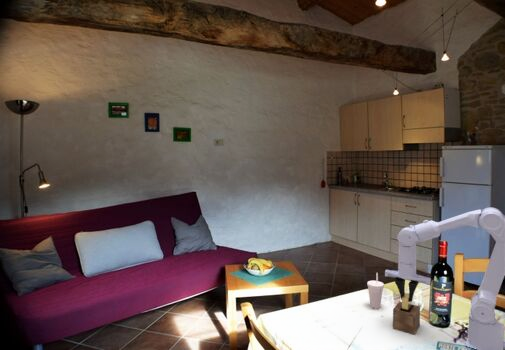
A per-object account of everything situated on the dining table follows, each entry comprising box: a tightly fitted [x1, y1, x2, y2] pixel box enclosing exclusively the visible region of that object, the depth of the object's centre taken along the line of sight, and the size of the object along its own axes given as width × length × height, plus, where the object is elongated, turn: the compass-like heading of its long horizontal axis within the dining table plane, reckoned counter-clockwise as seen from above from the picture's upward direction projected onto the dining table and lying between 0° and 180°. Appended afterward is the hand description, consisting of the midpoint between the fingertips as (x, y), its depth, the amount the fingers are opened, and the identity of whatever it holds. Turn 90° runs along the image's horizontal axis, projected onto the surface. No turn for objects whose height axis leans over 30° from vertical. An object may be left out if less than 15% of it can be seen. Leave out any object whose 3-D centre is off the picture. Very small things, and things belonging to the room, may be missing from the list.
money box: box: [392, 301, 421, 335], centre depth 119 cm, size 7×8×7 cm
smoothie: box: [366, 272, 385, 310], centre depth 135 cm, size 6×6×14 cm
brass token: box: [401, 292, 413, 310], centre depth 119 cm, size 5×2×4 cm, turn 142°
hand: (406, 299), depth 118 cm, fingers closed on brass token, 2 cm apart
